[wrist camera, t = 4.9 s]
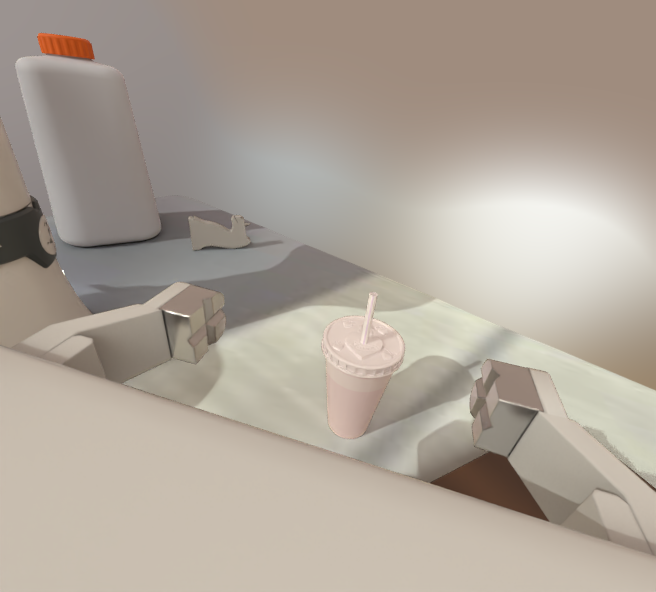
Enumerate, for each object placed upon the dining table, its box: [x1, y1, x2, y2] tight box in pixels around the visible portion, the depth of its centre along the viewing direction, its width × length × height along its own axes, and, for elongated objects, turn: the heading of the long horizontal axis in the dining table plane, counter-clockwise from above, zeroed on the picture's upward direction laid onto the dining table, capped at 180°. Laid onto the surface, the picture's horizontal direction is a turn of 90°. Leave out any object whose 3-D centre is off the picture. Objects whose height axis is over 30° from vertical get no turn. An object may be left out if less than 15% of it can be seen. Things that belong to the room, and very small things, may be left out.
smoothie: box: [321, 292, 405, 439], centre depth 27 cm, size 6×6×14 cm
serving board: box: [430, 452, 656, 522], centre depth 21 cm, size 22×16×2 cm
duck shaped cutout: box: [188, 215, 250, 250], centre depth 57 cm, size 6×1×10 cm
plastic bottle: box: [16, 33, 161, 247], centre depth 53 cm, size 15×15×28 cm
